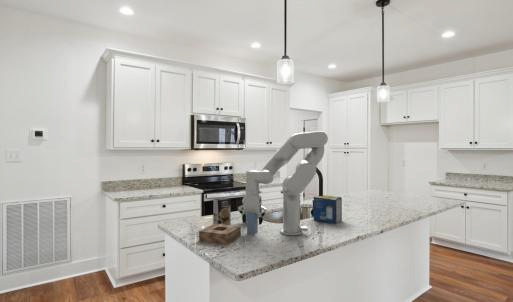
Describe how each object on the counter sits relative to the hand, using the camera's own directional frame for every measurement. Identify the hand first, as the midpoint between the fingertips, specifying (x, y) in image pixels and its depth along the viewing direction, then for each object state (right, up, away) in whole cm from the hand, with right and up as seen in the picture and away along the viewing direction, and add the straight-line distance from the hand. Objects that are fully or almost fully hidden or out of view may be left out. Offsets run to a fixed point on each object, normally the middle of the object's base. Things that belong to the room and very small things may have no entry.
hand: (252, 223), depth 162 cm
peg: (0, -6, 0) cm, 6 cm away
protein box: (+49, -6, +28) cm, 57 cm away
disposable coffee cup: (-2, -5, +25) cm, 26 cm away
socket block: (-17, -6, -10) cm, 20 cm away
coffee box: (-19, -5, +17) cm, 26 cm away
